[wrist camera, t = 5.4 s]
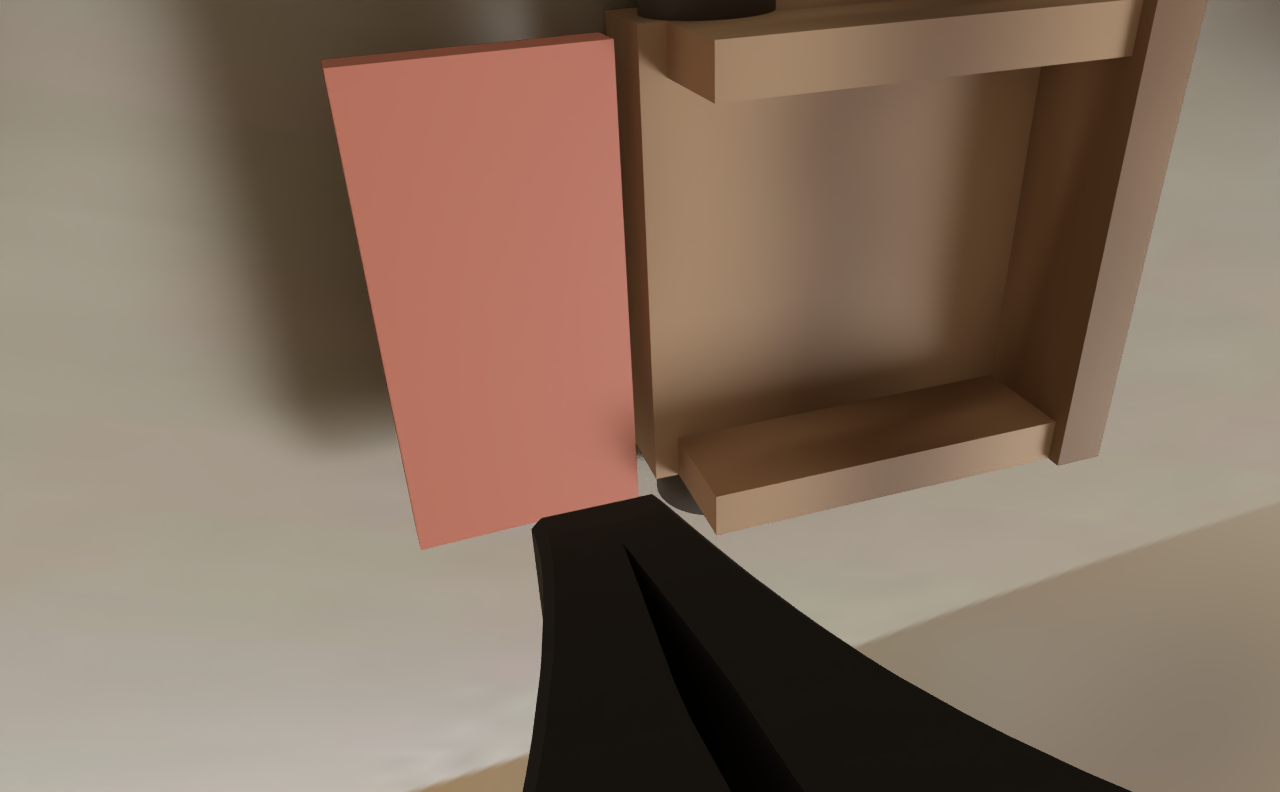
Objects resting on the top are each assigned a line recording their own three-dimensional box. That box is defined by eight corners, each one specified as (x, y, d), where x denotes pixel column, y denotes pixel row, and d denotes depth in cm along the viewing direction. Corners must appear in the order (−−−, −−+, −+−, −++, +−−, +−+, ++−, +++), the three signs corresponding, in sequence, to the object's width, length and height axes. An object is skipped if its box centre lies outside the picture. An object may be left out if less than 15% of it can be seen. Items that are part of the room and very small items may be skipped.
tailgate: (613, 39, 15) (322, 68, 13) (638, 496, 19) (421, 550, 18) (593, 30, 15) (319, 56, 14) (621, 468, 20) (413, 517, 19)
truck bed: (1038, -82, 18) (1224, -74, 15) (966, 398, 24) (1088, 494, 20) (601, -51, 16) (687, -32, 13) (631, 468, 22) (697, 590, 18)
